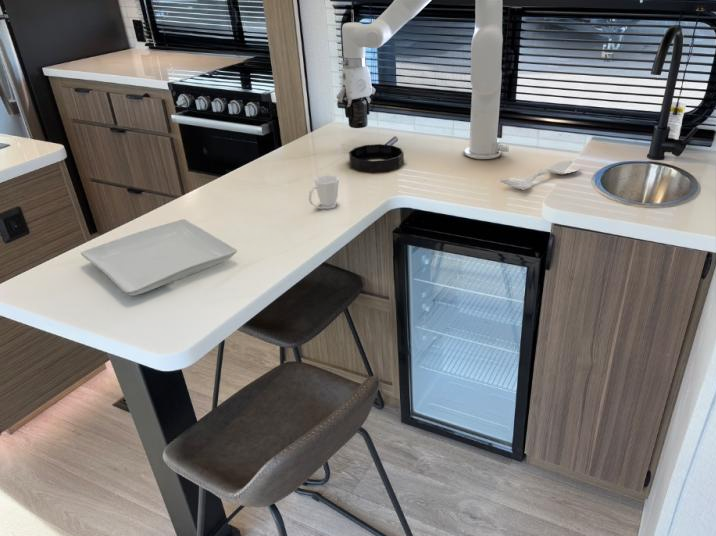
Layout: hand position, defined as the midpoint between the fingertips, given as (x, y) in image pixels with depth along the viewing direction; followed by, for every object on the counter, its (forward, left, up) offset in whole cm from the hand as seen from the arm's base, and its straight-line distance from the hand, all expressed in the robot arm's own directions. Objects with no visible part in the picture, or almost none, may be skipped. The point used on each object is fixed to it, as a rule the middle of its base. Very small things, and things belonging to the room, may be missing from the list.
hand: (357, 115), depth 213 cm
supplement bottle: (0, 0, -4) cm, 4 cm away
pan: (-12, +8, -12) cm, 19 cm away
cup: (-12, +53, -13) cm, 56 cm away
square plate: (+10, +97, -12) cm, 98 cm away
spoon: (-69, +12, -13) cm, 71 cm away
